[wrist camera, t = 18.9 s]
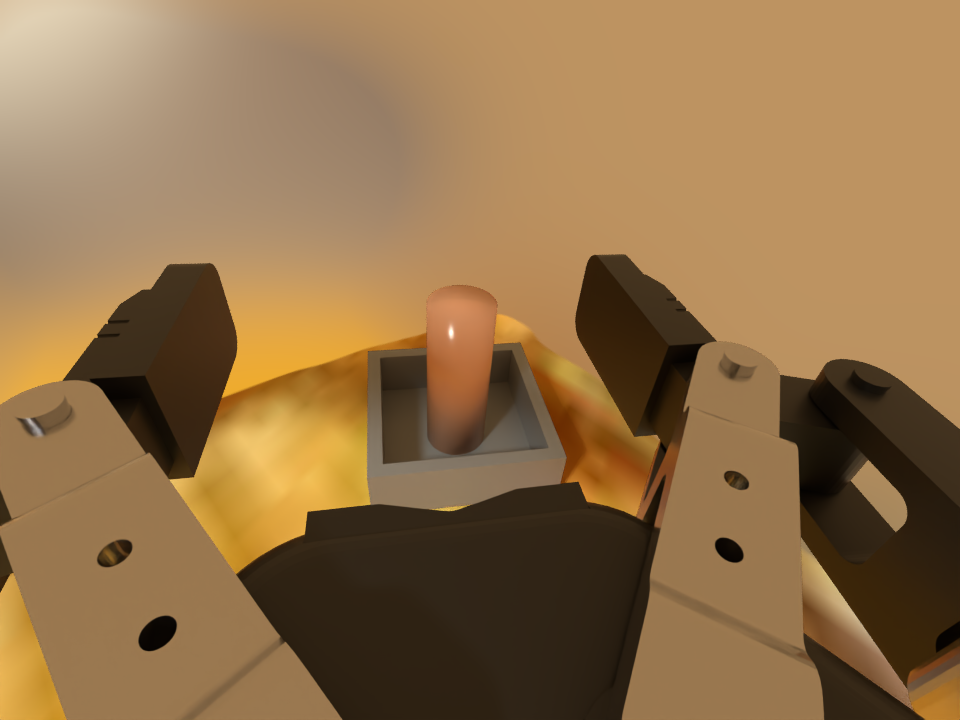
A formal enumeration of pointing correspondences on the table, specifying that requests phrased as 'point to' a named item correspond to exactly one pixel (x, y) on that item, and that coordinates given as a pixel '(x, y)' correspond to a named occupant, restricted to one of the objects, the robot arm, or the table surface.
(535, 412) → the tote
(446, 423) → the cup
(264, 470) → the table surface
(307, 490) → the table surface
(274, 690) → the robot arm
